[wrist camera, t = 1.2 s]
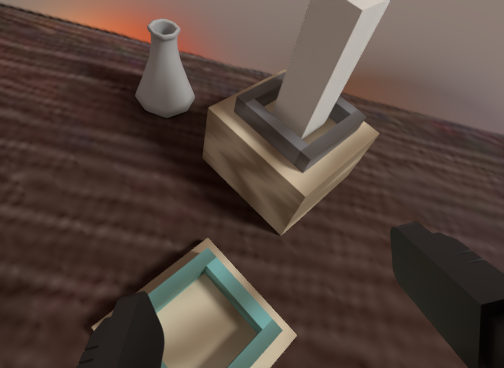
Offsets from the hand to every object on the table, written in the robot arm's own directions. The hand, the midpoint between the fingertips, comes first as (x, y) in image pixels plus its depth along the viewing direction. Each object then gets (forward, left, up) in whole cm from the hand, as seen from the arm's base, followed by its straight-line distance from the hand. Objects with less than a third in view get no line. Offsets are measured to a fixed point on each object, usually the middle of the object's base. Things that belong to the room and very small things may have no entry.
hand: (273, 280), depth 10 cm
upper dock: (-10, +19, -20) cm, 30 cm away
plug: (-10, +19, -12) cm, 25 cm away
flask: (-27, +15, -21) cm, 37 cm away
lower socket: (-2, 0, -20) cm, 20 cm away
